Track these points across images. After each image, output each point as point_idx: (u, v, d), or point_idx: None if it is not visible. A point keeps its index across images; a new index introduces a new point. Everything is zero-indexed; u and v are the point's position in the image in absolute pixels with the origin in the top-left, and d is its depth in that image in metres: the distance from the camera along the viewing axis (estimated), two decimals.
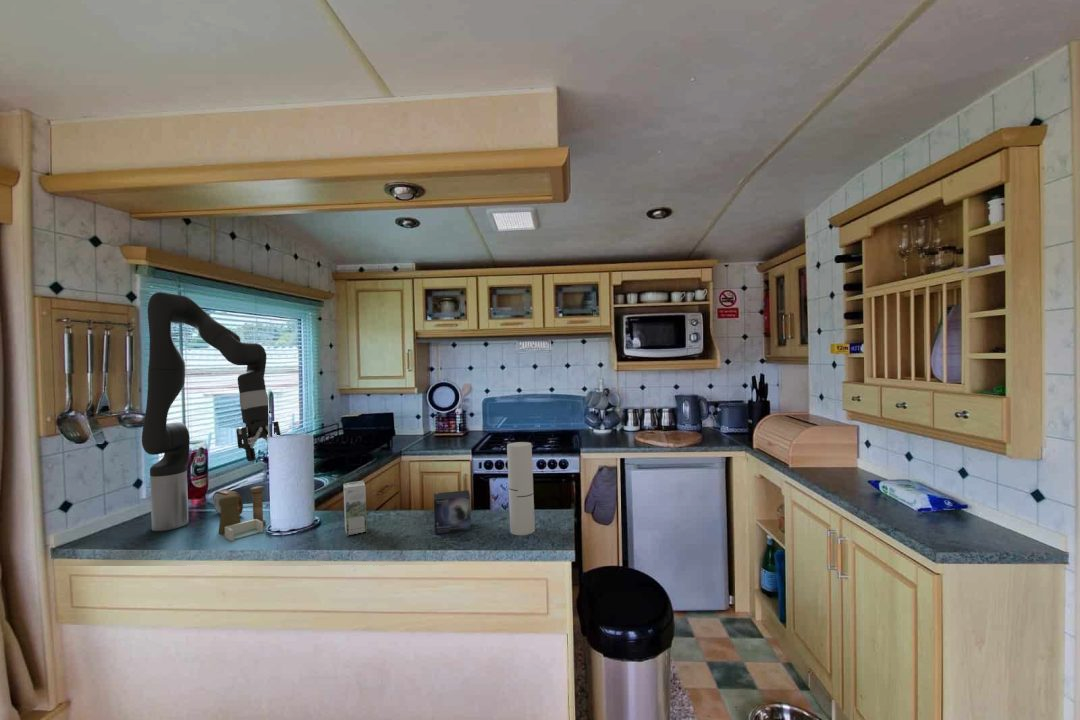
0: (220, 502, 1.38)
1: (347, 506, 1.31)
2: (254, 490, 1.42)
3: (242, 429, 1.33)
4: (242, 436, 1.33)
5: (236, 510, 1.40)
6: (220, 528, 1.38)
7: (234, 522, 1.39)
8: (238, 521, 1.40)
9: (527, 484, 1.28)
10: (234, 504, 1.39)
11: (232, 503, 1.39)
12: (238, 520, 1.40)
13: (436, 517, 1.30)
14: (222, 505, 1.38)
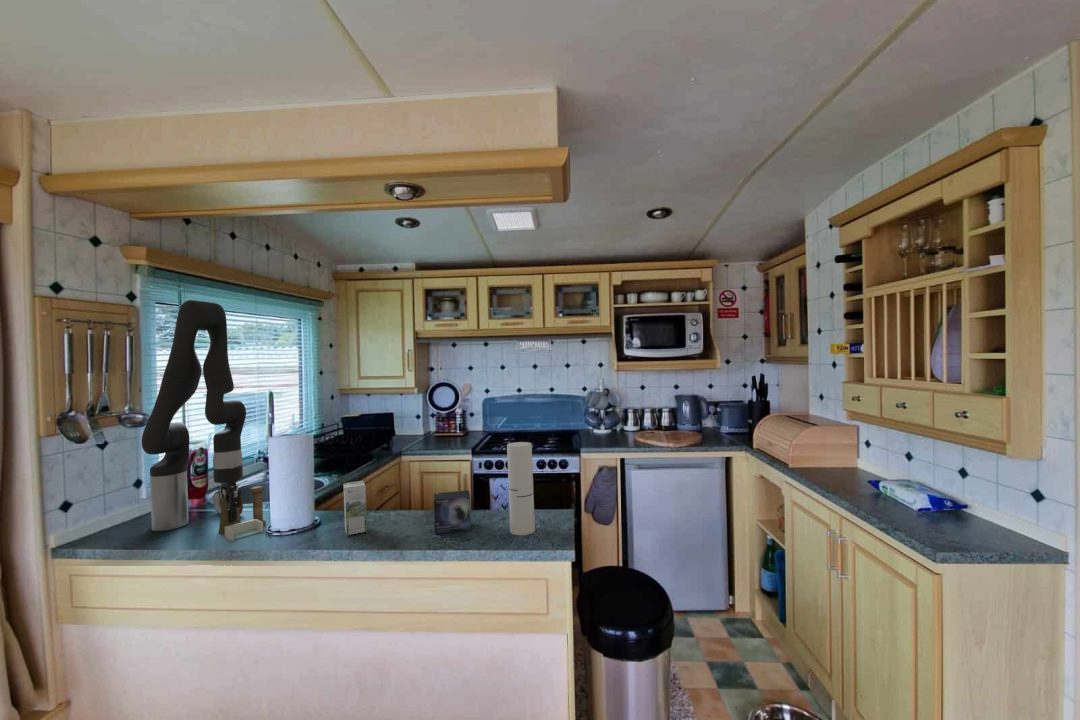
0: (220, 502, 1.38)
1: (347, 506, 1.31)
2: (254, 490, 1.42)
3: (239, 492, 1.37)
4: (238, 499, 1.37)
5: None
6: (220, 528, 1.38)
7: (235, 522, 1.39)
8: (238, 521, 1.40)
9: (527, 484, 1.28)
10: None
11: (232, 503, 1.39)
12: (238, 520, 1.40)
13: (436, 517, 1.30)
14: (222, 505, 1.38)
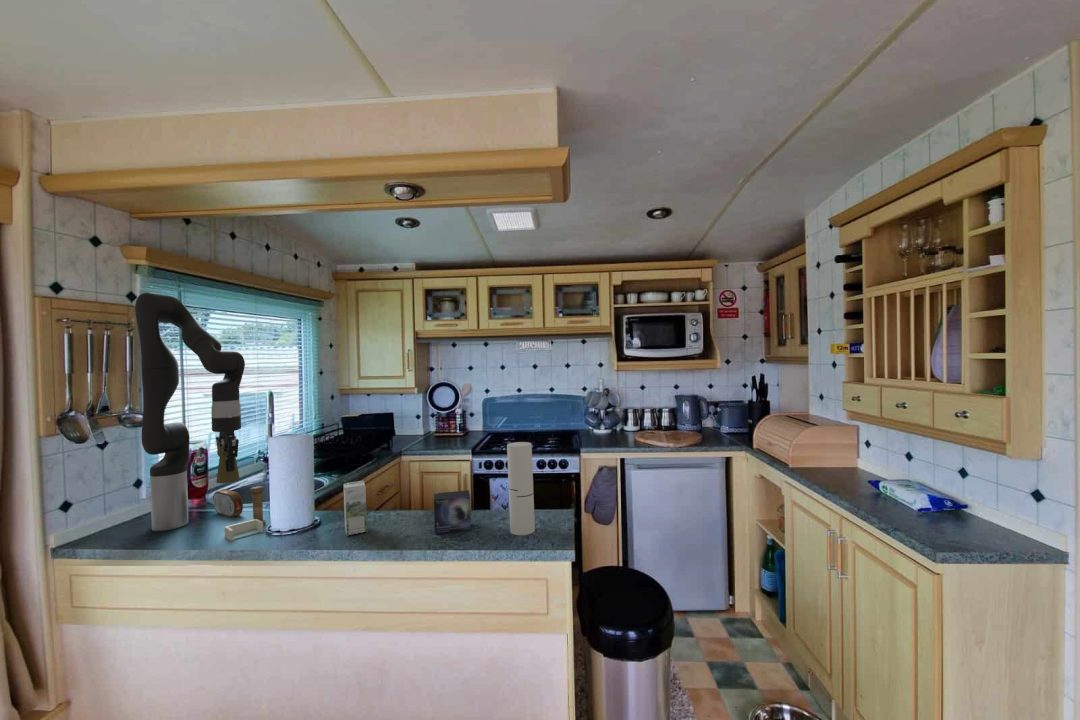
0: (218, 451, 1.38)
1: (347, 505, 1.31)
2: (254, 490, 1.42)
3: (237, 441, 1.37)
4: (236, 448, 1.37)
5: (234, 460, 1.40)
6: (218, 477, 1.38)
7: (232, 472, 1.39)
8: (236, 471, 1.40)
9: (527, 484, 1.28)
10: None
11: (230, 453, 1.39)
12: (236, 470, 1.40)
13: (436, 517, 1.30)
14: (220, 454, 1.38)
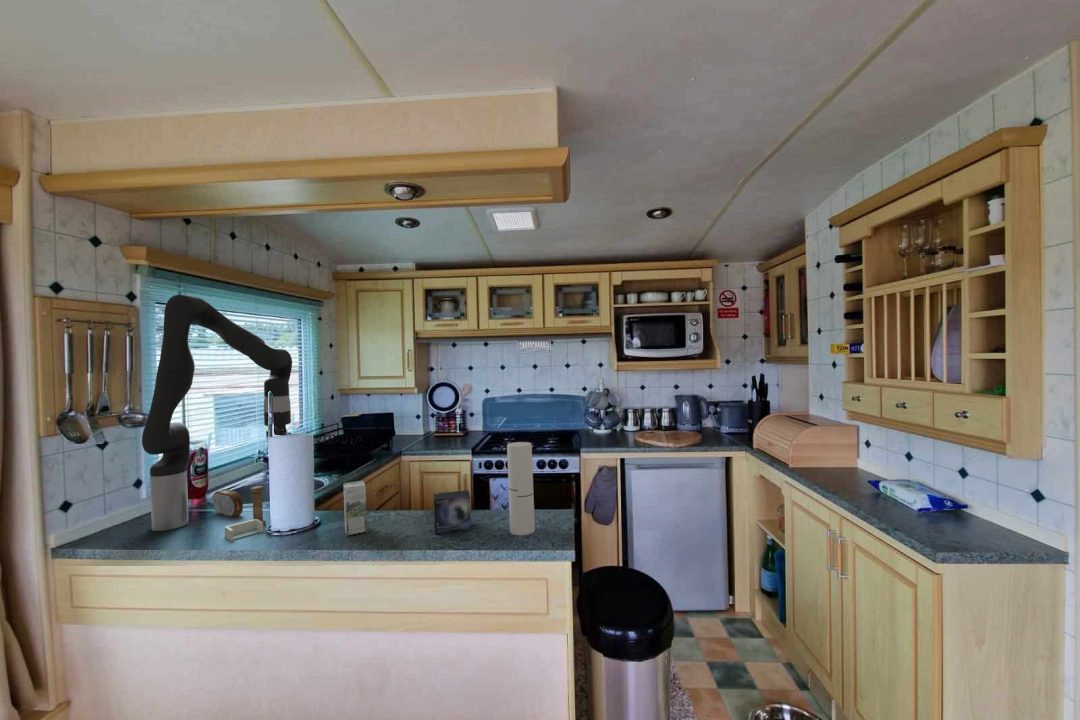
0: None
1: (347, 506, 1.31)
2: (254, 490, 1.42)
3: None
4: None
5: None
6: None
7: None
8: None
9: (527, 484, 1.28)
10: None
11: None
12: None
13: (436, 517, 1.30)
14: None
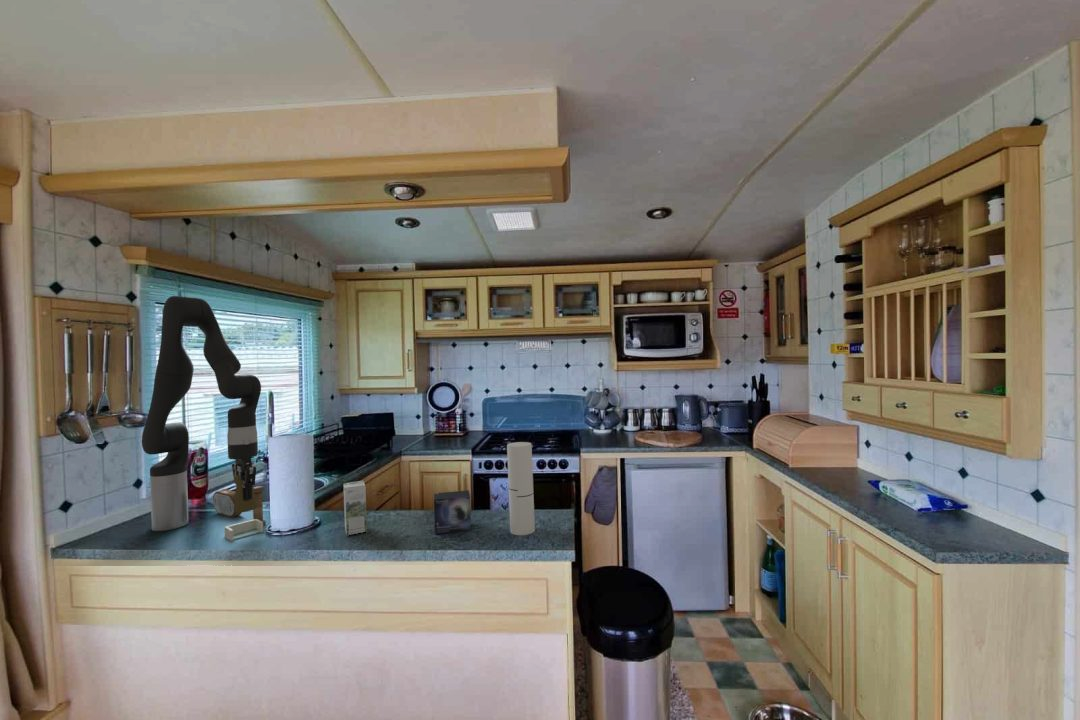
0: (235, 479, 1.33)
1: (347, 505, 1.31)
2: (254, 490, 1.42)
3: (254, 469, 1.32)
4: (253, 476, 1.32)
5: None
6: (235, 506, 1.33)
7: (250, 500, 1.34)
8: (253, 499, 1.35)
9: (527, 484, 1.28)
10: (249, 481, 1.34)
11: (248, 481, 1.34)
12: (253, 498, 1.35)
13: (436, 517, 1.30)
14: (237, 482, 1.33)
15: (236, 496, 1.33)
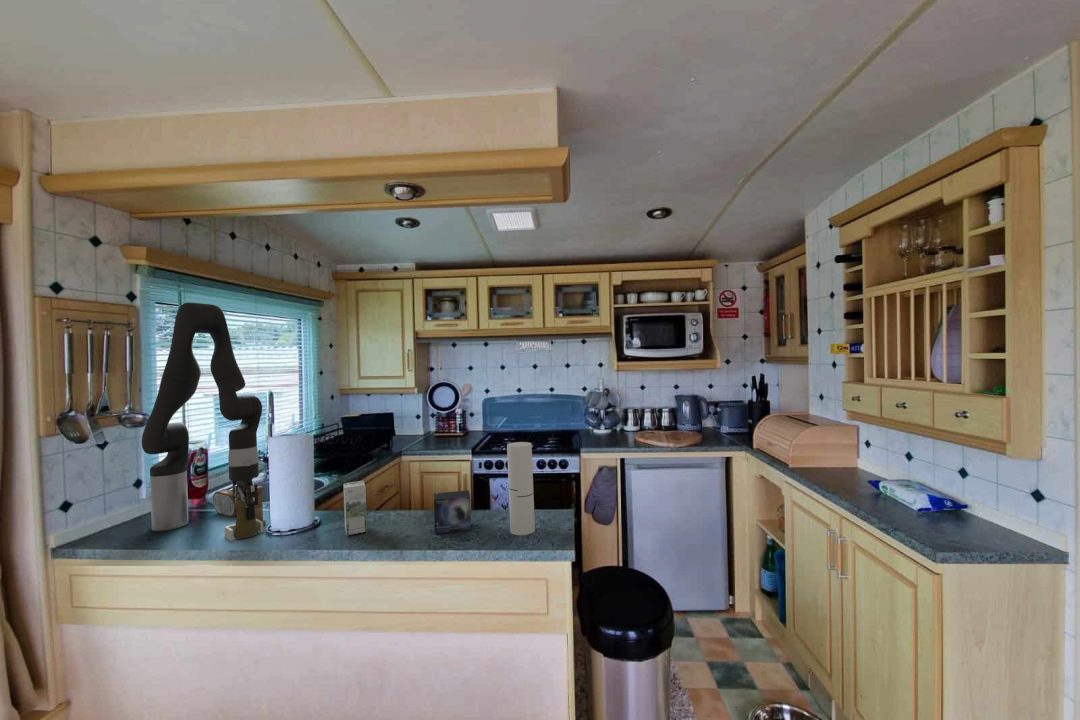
0: (236, 505, 1.33)
1: (347, 506, 1.31)
2: None
3: (256, 486, 1.32)
4: (255, 494, 1.31)
5: None
6: (236, 532, 1.33)
7: (251, 526, 1.34)
8: (254, 525, 1.35)
9: (527, 484, 1.28)
10: None
11: None
12: (254, 524, 1.35)
13: (436, 517, 1.30)
14: (238, 508, 1.33)
15: (237, 522, 1.33)
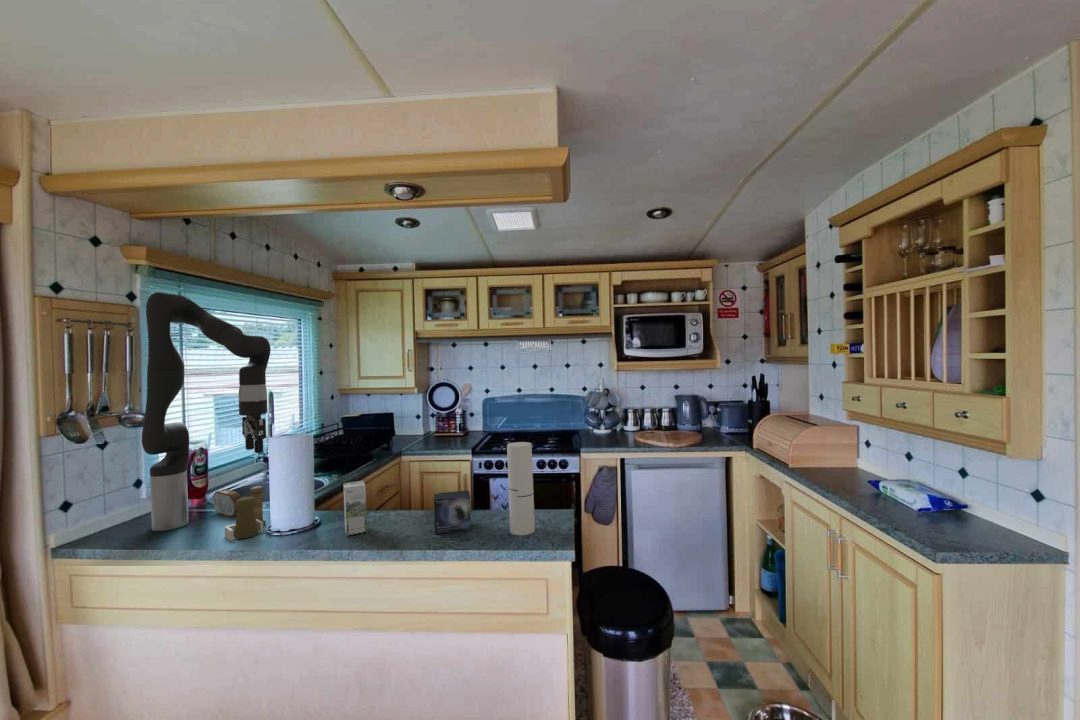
0: (236, 505, 1.33)
1: (347, 506, 1.31)
2: (254, 490, 1.42)
3: (264, 420, 1.37)
4: (263, 427, 1.37)
5: (252, 513, 1.35)
6: (236, 532, 1.33)
7: (251, 526, 1.34)
8: (254, 525, 1.35)
9: (527, 484, 1.28)
10: (250, 507, 1.34)
11: (248, 506, 1.34)
12: (254, 524, 1.35)
13: (436, 517, 1.30)
14: (238, 508, 1.33)
15: (237, 522, 1.33)
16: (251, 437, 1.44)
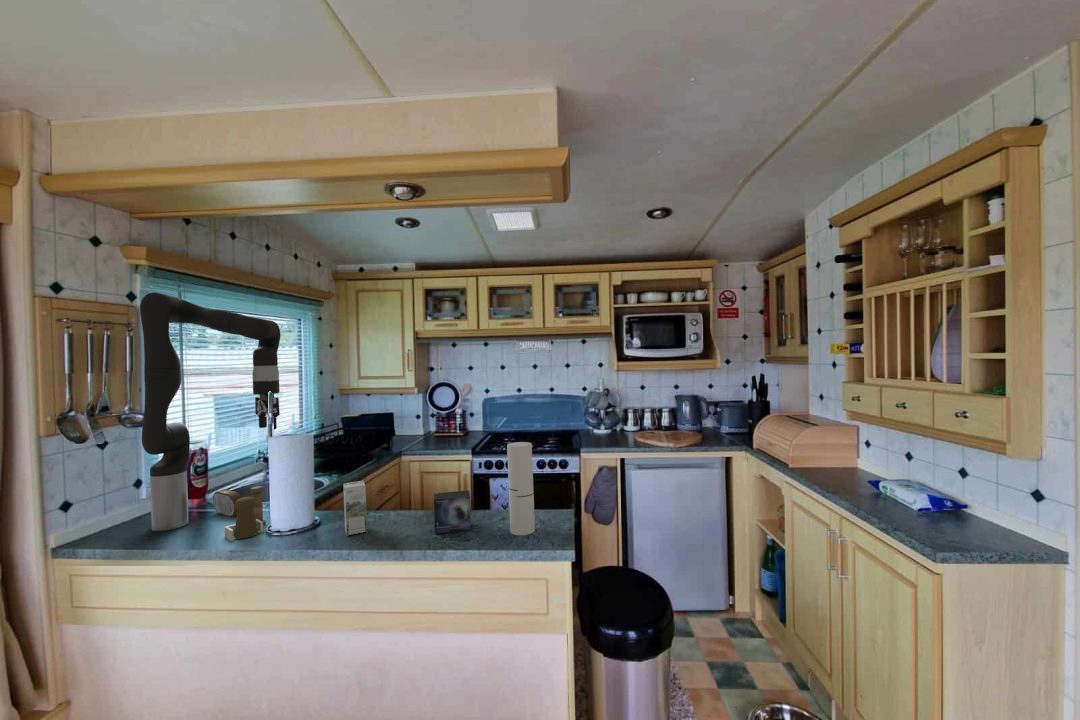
0: (236, 505, 1.33)
1: (347, 506, 1.31)
2: (254, 490, 1.42)
3: (277, 399, 1.46)
4: (277, 405, 1.45)
5: (252, 513, 1.35)
6: (236, 532, 1.33)
7: (251, 526, 1.34)
8: (254, 525, 1.35)
9: (527, 484, 1.28)
10: (250, 507, 1.34)
11: (248, 506, 1.34)
12: (254, 524, 1.35)
13: (436, 517, 1.30)
14: (238, 508, 1.33)
15: (237, 522, 1.33)
16: (264, 416, 1.52)
